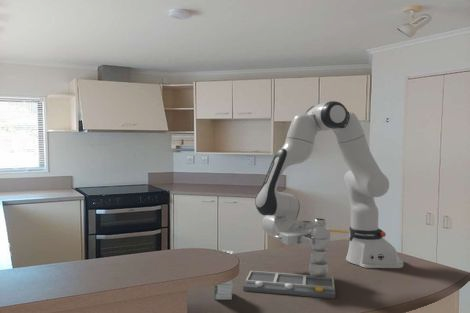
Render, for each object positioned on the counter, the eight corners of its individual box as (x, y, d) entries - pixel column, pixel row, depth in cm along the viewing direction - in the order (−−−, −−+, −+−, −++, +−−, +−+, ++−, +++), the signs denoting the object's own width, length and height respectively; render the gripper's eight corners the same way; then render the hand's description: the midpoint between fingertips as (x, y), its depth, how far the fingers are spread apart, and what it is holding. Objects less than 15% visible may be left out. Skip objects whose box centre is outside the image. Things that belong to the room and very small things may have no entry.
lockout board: (333, 282, 141) (333, 275, 141) (335, 298, 127) (335, 290, 127) (250, 276, 147) (250, 269, 147) (243, 290, 133) (243, 282, 133)
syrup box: (215, 292, 132) (215, 250, 131) (233, 293, 131) (233, 250, 131) (214, 299, 126) (214, 255, 125) (232, 300, 126) (232, 255, 125)
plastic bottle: (306, 273, 139) (307, 217, 138) (324, 272, 140) (325, 217, 139) (312, 280, 132) (313, 221, 131) (331, 279, 133) (332, 221, 132)
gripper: (272, 226, 141) (298, 235, 129) (313, 220, 152) (341, 227, 140) (271, 244, 141) (298, 254, 129) (313, 236, 152) (340, 245, 140)
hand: (320, 240), depth 135 cm, fingers closed on plastic bottle, 6 cm apart
